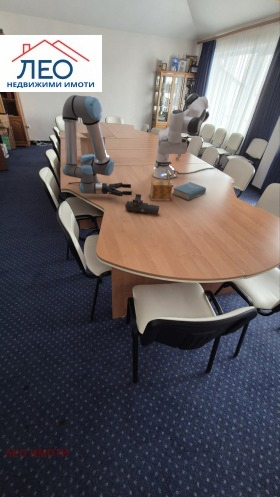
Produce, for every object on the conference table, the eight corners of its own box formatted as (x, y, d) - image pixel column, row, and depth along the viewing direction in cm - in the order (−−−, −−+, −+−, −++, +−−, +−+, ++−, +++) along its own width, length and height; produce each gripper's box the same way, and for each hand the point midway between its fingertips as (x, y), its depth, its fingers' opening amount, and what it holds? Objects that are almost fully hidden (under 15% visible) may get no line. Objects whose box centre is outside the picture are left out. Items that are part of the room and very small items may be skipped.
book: (188, 187, 190) (190, 182, 187) (205, 193, 181) (206, 187, 178) (172, 193, 177) (173, 187, 174) (188, 200, 168) (190, 194, 165)
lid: (170, 181, 168) (172, 170, 163) (173, 186, 160) (175, 174, 155) (151, 181, 166) (152, 169, 161) (153, 186, 159) (154, 174, 153)
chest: (167, 195, 175) (169, 182, 168) (170, 200, 167) (172, 186, 160) (150, 194, 173) (151, 181, 167) (152, 200, 165) (153, 186, 159)
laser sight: (156, 217, 143) (158, 203, 137) (123, 212, 146) (123, 198, 140) (159, 211, 151) (160, 197, 145) (127, 206, 154) (127, 192, 148)
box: (116, 165, 229) (116, 136, 213) (83, 168, 214) (80, 137, 198) (102, 154, 259) (101, 128, 243) (71, 156, 244) (68, 129, 228)
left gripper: (103, 187, 171) (130, 188, 174) (101, 200, 152) (131, 201, 154) (102, 177, 167) (130, 178, 169) (100, 190, 147) (132, 191, 149)
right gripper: (160, 139, 141) (158, 162, 149) (189, 140, 146) (185, 161, 154) (157, 137, 145) (155, 159, 154) (185, 138, 151) (182, 159, 159)
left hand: (131, 189), depth 161 cm, fingers open, 13 cm apart
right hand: (170, 160), depth 154 cm, fingers open, 8 cm apart
